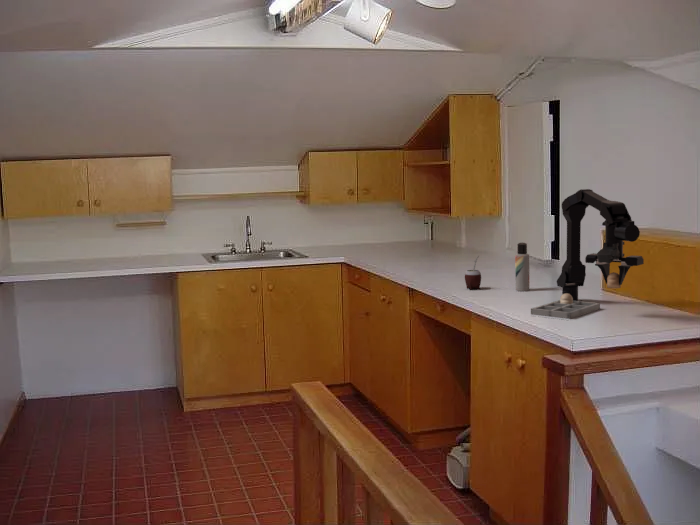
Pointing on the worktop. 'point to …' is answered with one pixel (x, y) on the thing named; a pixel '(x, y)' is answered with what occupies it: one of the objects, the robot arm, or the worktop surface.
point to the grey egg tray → (565, 309)
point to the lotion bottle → (522, 268)
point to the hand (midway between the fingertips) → (613, 284)
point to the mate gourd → (473, 278)
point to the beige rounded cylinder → (566, 299)
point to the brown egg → (613, 280)
